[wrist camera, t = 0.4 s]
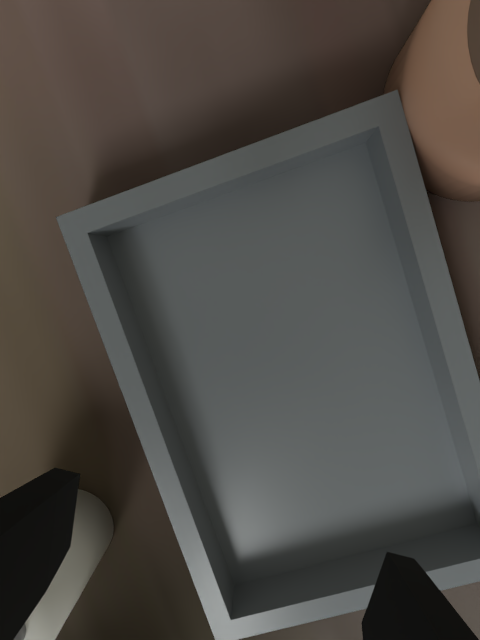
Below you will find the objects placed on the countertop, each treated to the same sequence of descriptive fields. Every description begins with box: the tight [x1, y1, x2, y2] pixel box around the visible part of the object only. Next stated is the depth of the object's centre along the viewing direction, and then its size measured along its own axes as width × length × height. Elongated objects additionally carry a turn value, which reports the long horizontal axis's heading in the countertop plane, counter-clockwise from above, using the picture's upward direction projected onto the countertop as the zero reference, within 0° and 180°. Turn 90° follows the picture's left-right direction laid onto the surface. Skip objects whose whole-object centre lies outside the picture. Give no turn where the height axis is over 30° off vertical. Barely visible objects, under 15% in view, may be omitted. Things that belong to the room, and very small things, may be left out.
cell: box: [14, 489, 114, 640], centre depth 18 cm, size 4×4×7 cm
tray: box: [56, 90, 480, 640], centre depth 18 cm, size 14×20×2 cm
